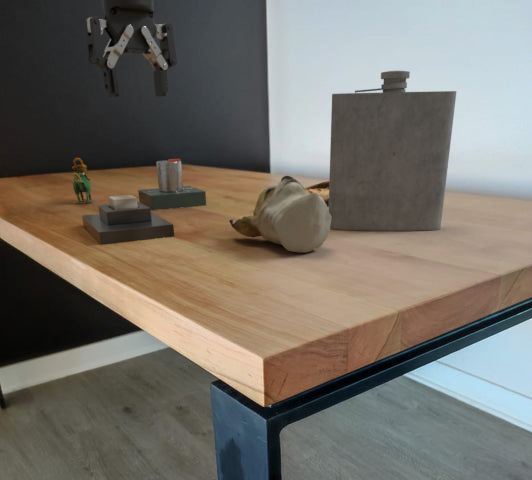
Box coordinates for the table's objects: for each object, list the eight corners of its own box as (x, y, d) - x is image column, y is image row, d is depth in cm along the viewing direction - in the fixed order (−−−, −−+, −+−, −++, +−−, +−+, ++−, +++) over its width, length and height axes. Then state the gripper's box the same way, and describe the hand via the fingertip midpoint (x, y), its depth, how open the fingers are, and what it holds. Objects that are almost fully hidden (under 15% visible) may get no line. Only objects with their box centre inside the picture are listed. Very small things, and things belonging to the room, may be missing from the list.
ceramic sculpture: (272, 180, 58) (222, 175, 70) (275, 261, 61) (226, 243, 74) (356, 175, 62) (294, 171, 74) (354, 251, 65) (295, 235, 78)
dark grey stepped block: (100, 245, 71) (97, 218, 69) (83, 226, 82) (79, 203, 81) (174, 236, 75) (172, 210, 73) (148, 220, 86) (145, 197, 85)
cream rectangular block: (115, 212, 75) (113, 199, 75) (110, 209, 78) (108, 196, 77) (138, 210, 77) (136, 197, 76) (132, 207, 79) (131, 194, 79)
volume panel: (152, 210, 94) (150, 194, 93) (139, 203, 102) (137, 188, 101) (206, 205, 98) (205, 190, 97) (190, 199, 106) (189, 184, 105)
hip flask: (438, 225, 79) (456, 70, 70) (443, 231, 75) (462, 68, 67) (328, 224, 80) (332, 73, 72) (327, 230, 77) (332, 71, 68)
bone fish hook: (336, 200, 104) (252, 206, 97) (337, 174, 103) (251, 178, 95) (365, 204, 97) (276, 211, 89) (367, 177, 95) (276, 182, 88)
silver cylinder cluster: (162, 192, 96) (159, 161, 94) (156, 189, 100) (153, 159, 98) (186, 190, 98) (184, 159, 96) (178, 187, 102) (176, 158, 100)
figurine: (97, 197, 109) (91, 154, 106) (87, 207, 98) (80, 160, 95) (82, 198, 109) (75, 155, 106) (69, 208, 98) (62, 160, 95)
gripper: (152, -16, 87) (163, 97, 93) (67, -27, 78) (85, 97, 85) (179, -24, 82) (188, 95, 88) (91, -38, 73) (108, 96, 80)
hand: (138, 96), depth 87 cm, fingers open, 8 cm apart
